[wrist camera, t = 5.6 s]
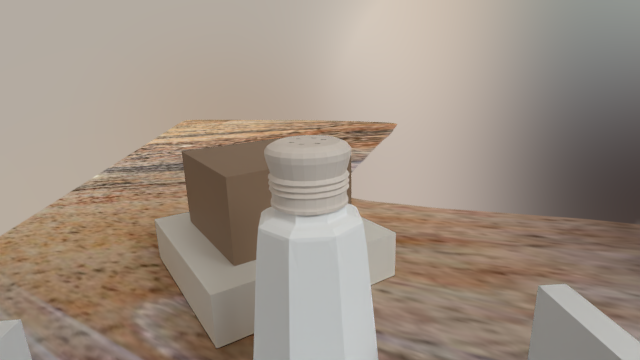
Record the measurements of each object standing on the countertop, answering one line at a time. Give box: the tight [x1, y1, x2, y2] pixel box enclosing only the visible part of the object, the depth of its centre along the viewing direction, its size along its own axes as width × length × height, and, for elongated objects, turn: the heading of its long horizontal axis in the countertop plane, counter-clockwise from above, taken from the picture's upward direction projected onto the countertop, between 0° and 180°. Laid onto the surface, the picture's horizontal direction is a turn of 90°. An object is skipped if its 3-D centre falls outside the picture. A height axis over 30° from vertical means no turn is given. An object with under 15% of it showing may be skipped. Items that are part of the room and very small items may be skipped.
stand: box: [154, 137, 396, 349], centre depth 26 cm, size 12×12×8 cm
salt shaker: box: [253, 135, 378, 360], centre depth 14 cm, size 5×5×11 cm
